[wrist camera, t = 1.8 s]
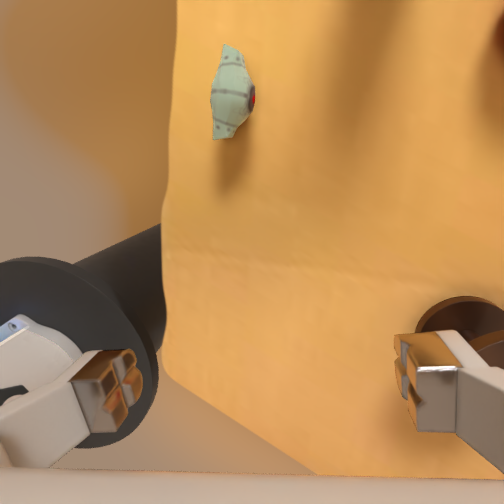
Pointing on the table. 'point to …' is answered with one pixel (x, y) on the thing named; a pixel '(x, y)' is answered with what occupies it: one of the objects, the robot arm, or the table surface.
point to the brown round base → (470, 325)
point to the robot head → (231, 94)
